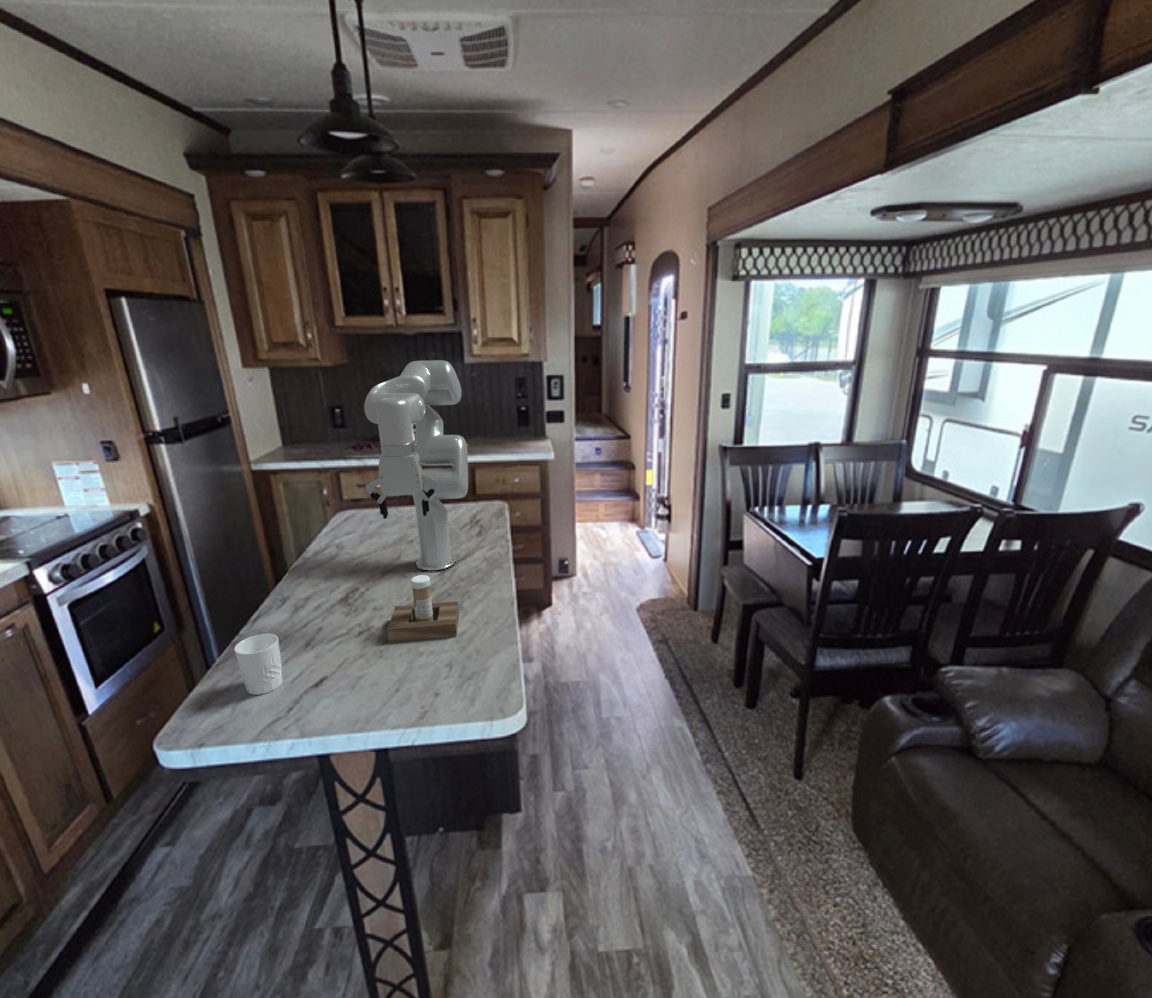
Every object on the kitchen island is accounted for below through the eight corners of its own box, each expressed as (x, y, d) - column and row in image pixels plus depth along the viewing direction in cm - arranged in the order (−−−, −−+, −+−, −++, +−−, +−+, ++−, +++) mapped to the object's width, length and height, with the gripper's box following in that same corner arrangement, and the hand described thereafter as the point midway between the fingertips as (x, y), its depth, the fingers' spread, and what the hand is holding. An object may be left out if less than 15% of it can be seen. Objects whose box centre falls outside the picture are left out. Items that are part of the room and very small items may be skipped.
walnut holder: (396, 618, 141) (395, 606, 140) (459, 613, 144) (458, 601, 143) (388, 642, 130) (387, 629, 129) (456, 636, 132) (455, 623, 131)
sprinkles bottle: (417, 623, 139) (412, 574, 135) (435, 621, 139) (431, 573, 135) (414, 632, 134) (409, 582, 131) (433, 630, 135) (428, 581, 131)
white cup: (238, 700, 110) (228, 656, 107) (249, 677, 117) (240, 636, 114) (281, 692, 112) (273, 650, 109) (289, 671, 119) (281, 631, 116)
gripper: (435, 444, 136) (441, 508, 141) (363, 447, 133) (372, 512, 139) (433, 451, 129) (439, 518, 134) (357, 455, 126) (367, 523, 132)
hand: (405, 515), depth 137 cm, fingers open, 9 cm apart
